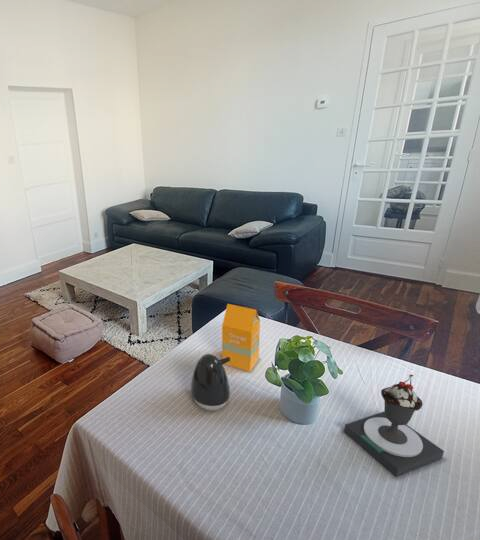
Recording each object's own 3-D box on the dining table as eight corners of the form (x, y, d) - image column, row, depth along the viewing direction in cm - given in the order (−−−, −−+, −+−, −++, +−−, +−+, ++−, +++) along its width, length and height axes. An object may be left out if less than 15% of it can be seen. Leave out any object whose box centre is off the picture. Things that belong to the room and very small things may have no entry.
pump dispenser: (235, 415, 87) (236, 367, 81) (194, 418, 87) (192, 369, 82) (225, 388, 96) (225, 343, 91) (188, 391, 97) (186, 346, 92)
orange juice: (250, 374, 101) (252, 315, 94) (221, 365, 106) (221, 308, 99) (258, 360, 106) (261, 304, 99) (231, 352, 112) (231, 298, 105)
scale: (384, 420, 81) (387, 408, 79) (441, 461, 70) (445, 448, 68) (343, 434, 78) (345, 422, 77) (395, 480, 67) (398, 466, 66)
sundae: (410, 429, 73) (424, 372, 68) (414, 452, 68) (430, 393, 63) (372, 418, 77) (383, 364, 72) (374, 440, 72) (386, 383, 67)
